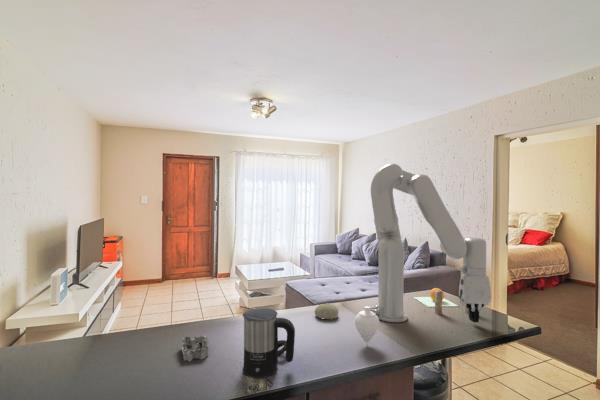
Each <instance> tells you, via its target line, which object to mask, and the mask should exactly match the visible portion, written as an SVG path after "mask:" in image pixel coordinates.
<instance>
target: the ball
mask: <svg viewBox="0 0 600 400" xmlns="http://www.w3.org/2000/svg"><path fill="white" fill-rule="evenodd" d="M436 290H439V291H442V300H443V298H445V293H444V291H443V290H442V289H441V288H437V287H434V288H432V289H431V290H430V291H429V297H431V299H432V300H434V301H435V291H436Z"/></svg>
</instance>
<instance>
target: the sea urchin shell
mask: <svg viewBox="0 0 600 400" xmlns="http://www.w3.org/2000/svg"><path fill="white" fill-rule="evenodd" d="M314 314H315V316H316V317H317V318H318V317H319V318H318V319H320V318H324V319H331V320H334V319H333V318H335V319H337V318H338V316H339V308H338V307H337V306H336V305H335V304H332V303H330V302H329V303H321V304H319V305H317V306H316V307H315V308H314Z"/></svg>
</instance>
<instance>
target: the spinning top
mask: <svg viewBox="0 0 600 400" xmlns="http://www.w3.org/2000/svg"><path fill="white" fill-rule="evenodd" d="M369 306H370V305H368V306H367V305H366V306H364V307H363V309H364V310H361V311H359V312H358V313H357V314H356V316H355V318H354V326H355V328H356V330H357V332H358V334H359V335H360V337H361V338H362V339H363V341H364V342H365V344H366V346H368V343H369V342H370V341H371V340H373V338H374V336H375V335H376V333H377V332H378V330H379V328H380V325H381V324H380V321H381V320H380V319H379V318H378V317H377V315H376V314H375V313H374V312H371V311H370V307H369Z"/></svg>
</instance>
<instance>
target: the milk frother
mask: <svg viewBox="0 0 600 400" xmlns="http://www.w3.org/2000/svg"><path fill="white" fill-rule="evenodd" d="M278 315H279V313H278V312H277V311H276V310H275V309H271V308H253V309H249V310H246V311H245V312H243V314H242V317H243V346H244V347H243V367H242V372H243V374H244V375H245V376H247V377H250V378H252V379H253V378H254V379H263V378H267V377H270V376H272V375H274V374H275V373H276V372H277V371H278V361H279V360H278V358H279V357H280V356H281V355H283V354H284V353H285V361H286V362H287V363H291V362H293V359H294V351H295V341H296V340H295V339H296V338H295V336H296V329H295V326H294V324H293V322H292V321H291V320H289V319H288V318H285V317H277V316H278ZM280 328H281V329H284V330H285V331H286V340H285V339H283V340H282V339H281V340H279V336H278V335H279V334H278V329H280ZM280 348H281V349H280ZM278 349H279V350H278Z"/></svg>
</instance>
